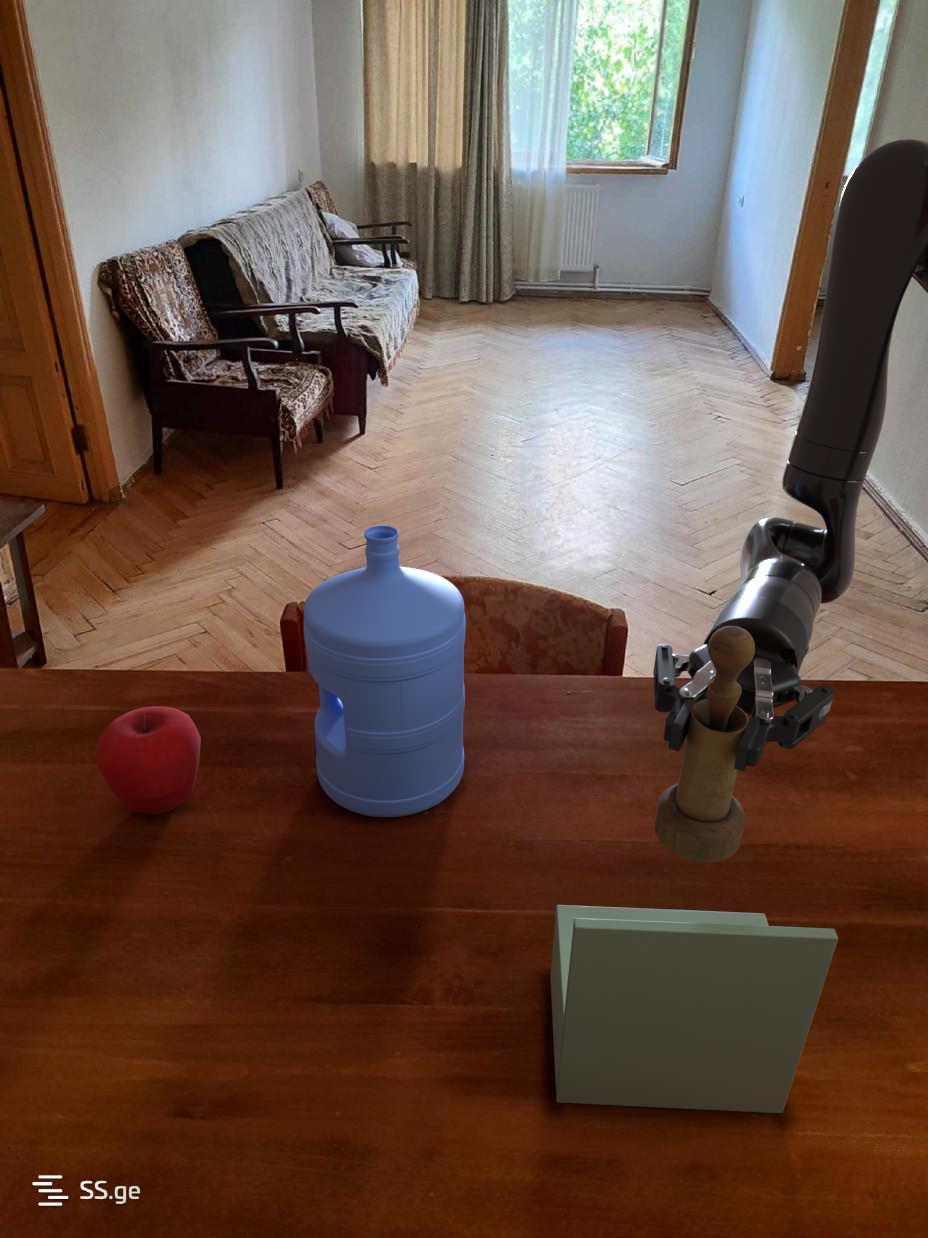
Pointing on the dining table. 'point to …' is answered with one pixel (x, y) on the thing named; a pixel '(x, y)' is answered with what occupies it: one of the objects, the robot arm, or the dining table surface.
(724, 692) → the mortar and pestle
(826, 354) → the robot arm
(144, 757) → the apple
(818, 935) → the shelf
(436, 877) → the dining table surface
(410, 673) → the water jug
